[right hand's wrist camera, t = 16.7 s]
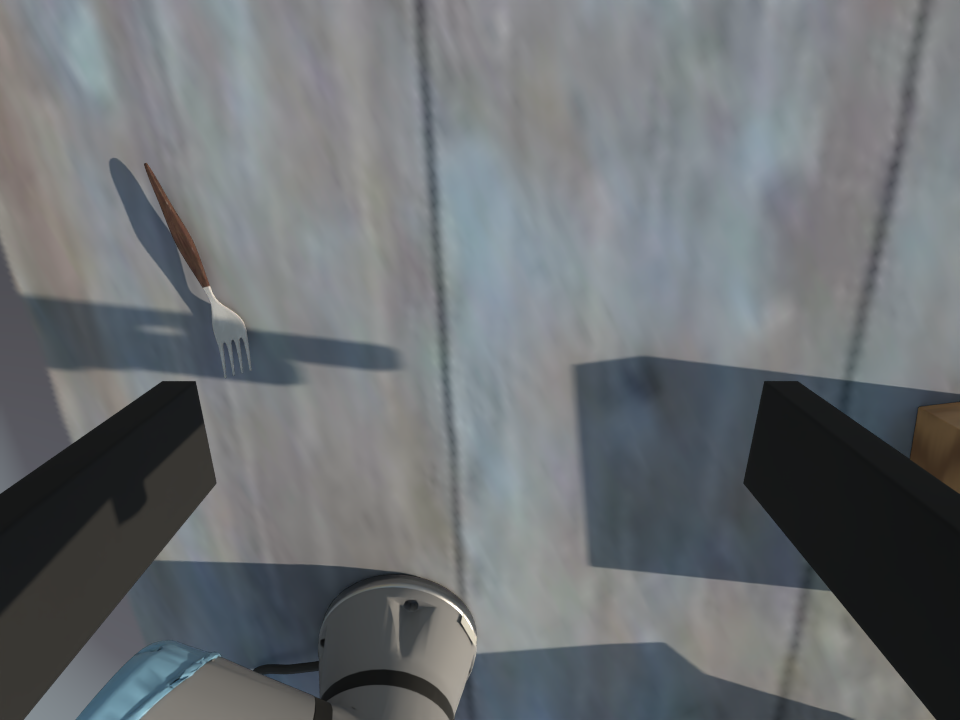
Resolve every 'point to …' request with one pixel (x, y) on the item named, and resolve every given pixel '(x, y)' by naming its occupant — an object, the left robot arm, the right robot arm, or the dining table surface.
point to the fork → (203, 282)
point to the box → (938, 442)
